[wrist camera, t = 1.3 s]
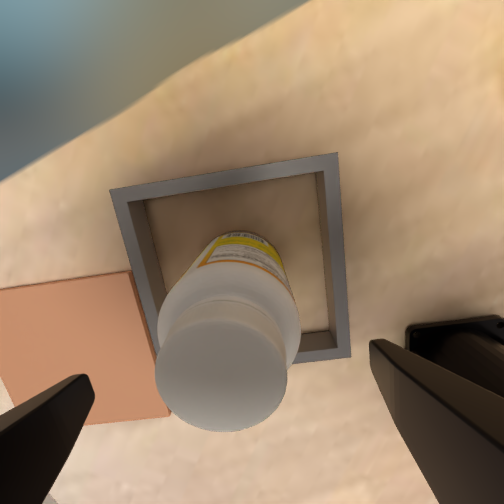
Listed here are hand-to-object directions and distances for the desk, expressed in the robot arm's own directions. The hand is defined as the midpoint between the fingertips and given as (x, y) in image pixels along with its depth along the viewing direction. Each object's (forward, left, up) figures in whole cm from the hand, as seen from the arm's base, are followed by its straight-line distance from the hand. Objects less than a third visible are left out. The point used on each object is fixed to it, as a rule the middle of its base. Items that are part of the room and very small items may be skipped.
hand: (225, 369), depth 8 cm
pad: (+14, +5, -10) cm, 17 cm away
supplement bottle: (0, 0, -10) cm, 10 cm away
